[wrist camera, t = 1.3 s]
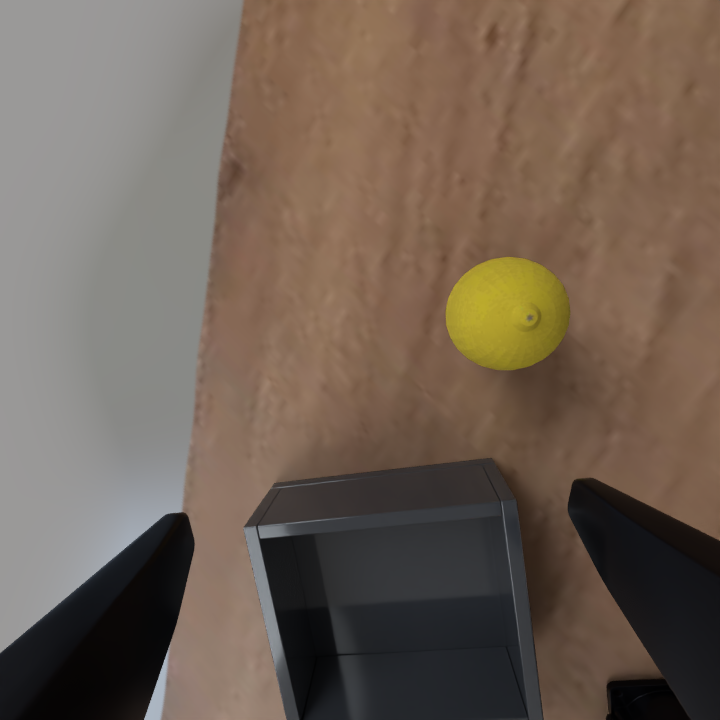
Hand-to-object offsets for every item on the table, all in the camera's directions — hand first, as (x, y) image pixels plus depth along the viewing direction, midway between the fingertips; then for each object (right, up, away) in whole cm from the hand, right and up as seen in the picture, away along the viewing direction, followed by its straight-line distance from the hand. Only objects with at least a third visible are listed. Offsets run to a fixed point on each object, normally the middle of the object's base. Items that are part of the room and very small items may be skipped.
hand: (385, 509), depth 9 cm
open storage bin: (+2, -11, +17) cm, 20 cm away
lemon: (+7, +6, +14) cm, 17 cm away
